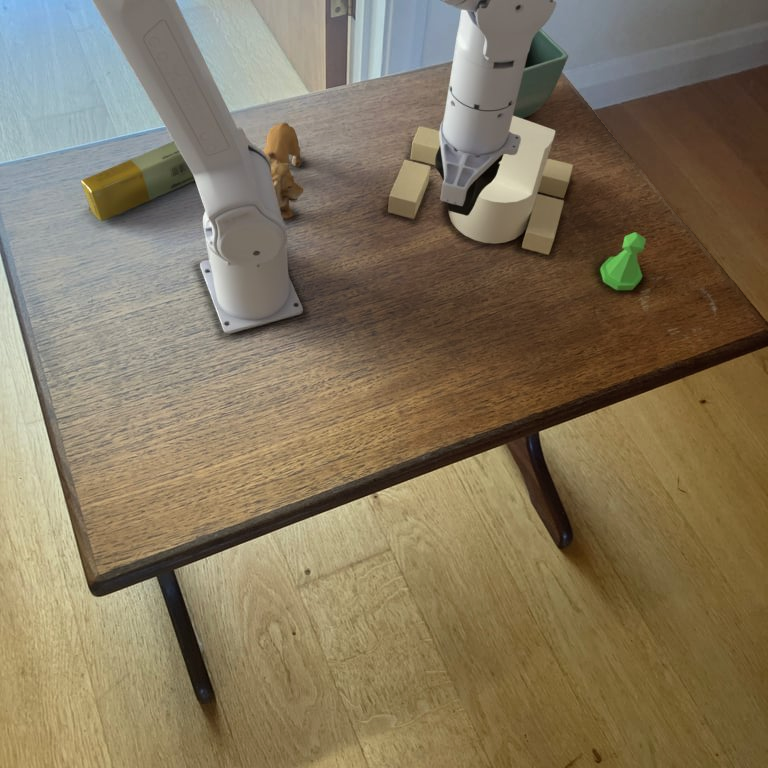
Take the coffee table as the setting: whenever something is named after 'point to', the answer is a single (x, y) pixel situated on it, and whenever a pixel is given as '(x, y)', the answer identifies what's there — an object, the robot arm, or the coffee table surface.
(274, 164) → the lion figurine
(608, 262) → the game piece
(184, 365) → the coffee table surface
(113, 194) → the medication box
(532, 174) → the base with upright slab
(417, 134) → the bay
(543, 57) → the flower pot
